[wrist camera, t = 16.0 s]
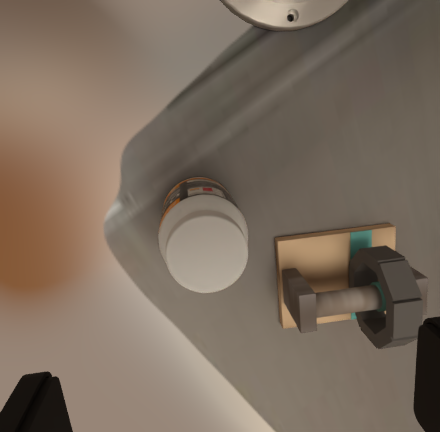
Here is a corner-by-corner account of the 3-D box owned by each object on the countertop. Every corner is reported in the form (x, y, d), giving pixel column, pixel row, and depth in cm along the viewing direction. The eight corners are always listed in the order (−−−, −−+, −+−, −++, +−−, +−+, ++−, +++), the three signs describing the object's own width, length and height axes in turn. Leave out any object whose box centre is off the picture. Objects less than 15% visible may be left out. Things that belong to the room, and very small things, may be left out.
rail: (274, 237, 32) (295, 263, 26) (389, 223, 33) (433, 245, 27) (280, 322, 34) (300, 364, 28) (387, 307, 35) (428, 344, 29)
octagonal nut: (348, 239, 31) (394, 273, 24) (372, 236, 31) (424, 269, 25) (349, 315, 33) (392, 367, 26) (371, 312, 33) (420, 362, 26)
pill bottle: (161, 176, 30) (152, 206, 20) (234, 175, 30) (259, 204, 21) (164, 245, 31) (156, 304, 22) (233, 243, 32) (256, 299, 22)
